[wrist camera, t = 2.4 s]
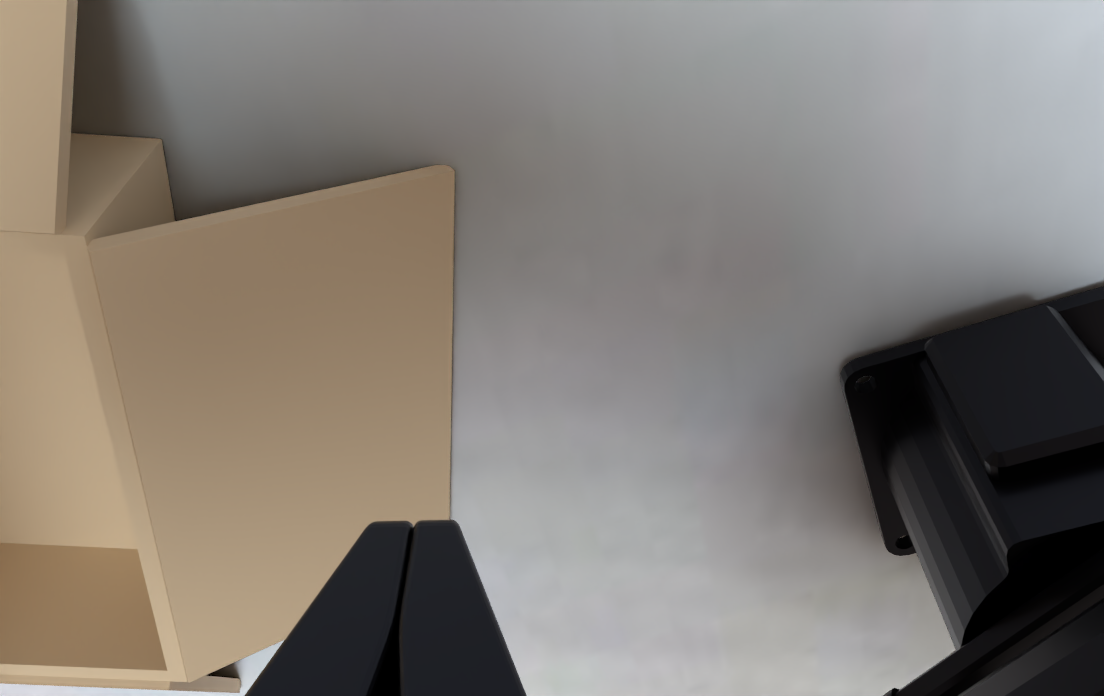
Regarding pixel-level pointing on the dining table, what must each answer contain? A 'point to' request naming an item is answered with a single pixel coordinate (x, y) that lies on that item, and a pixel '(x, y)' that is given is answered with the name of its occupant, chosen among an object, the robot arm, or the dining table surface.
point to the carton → (196, 390)
